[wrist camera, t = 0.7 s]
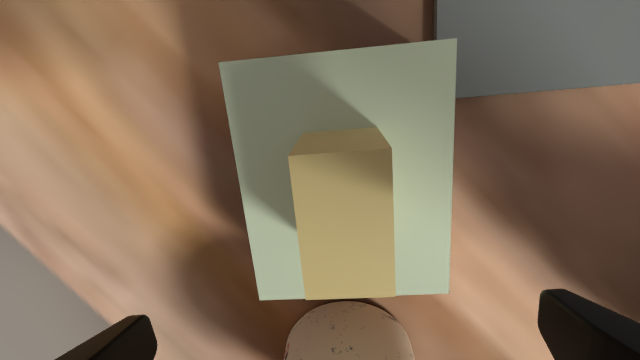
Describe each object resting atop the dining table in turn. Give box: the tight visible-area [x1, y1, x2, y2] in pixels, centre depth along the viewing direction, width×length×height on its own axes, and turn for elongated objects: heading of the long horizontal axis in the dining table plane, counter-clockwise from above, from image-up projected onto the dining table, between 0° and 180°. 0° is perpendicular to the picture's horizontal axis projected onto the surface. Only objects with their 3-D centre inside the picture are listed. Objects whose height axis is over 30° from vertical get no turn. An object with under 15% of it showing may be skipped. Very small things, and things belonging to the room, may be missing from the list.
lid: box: [218, 38, 457, 300], centre depth 13 cm, size 9×11×6 cm
